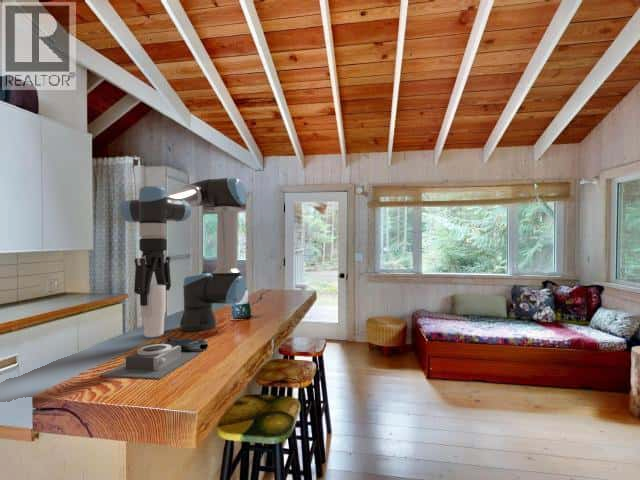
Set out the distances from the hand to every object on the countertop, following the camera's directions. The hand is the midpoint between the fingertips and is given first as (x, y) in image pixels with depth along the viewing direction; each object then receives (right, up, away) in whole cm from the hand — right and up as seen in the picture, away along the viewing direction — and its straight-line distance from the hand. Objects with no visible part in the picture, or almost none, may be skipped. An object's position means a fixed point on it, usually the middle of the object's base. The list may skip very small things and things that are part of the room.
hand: (154, 313), depth 107 cm
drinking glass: (0, -7, 0) cm, 7 cm away
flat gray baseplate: (0, -15, 0) cm, 15 cm away
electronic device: (+4, -16, +15) cm, 23 cm away
